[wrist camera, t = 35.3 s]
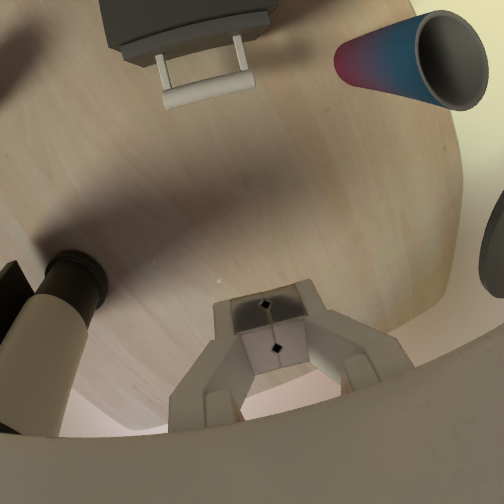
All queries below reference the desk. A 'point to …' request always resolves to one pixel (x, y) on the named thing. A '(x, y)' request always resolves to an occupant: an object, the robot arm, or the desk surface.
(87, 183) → the desk surface
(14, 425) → the light fixture
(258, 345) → the robot arm
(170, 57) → the drawer
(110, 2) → the cabinet
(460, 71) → the cup
